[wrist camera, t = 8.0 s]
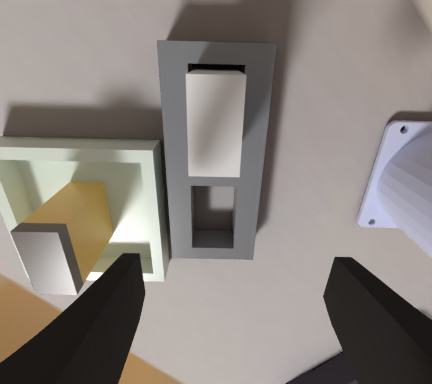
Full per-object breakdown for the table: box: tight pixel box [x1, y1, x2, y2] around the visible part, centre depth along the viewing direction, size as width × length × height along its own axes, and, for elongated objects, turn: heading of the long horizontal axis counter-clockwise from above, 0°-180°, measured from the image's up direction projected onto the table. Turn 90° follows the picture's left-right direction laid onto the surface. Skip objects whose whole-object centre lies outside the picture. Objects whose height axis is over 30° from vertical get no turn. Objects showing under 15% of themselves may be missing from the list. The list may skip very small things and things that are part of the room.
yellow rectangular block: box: [10, 182, 114, 295], centre depth 17 cm, size 2×4×6 cm, turn 179°
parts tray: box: [0, 136, 169, 282], centre depth 19 cm, size 11×11×2 cm
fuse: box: [186, 68, 246, 177], centre depth 14 cm, size 2×4×6 cm, turn 179°
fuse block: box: [157, 40, 277, 260], centre depth 17 cm, size 6×14×2 cm, turn 179°
